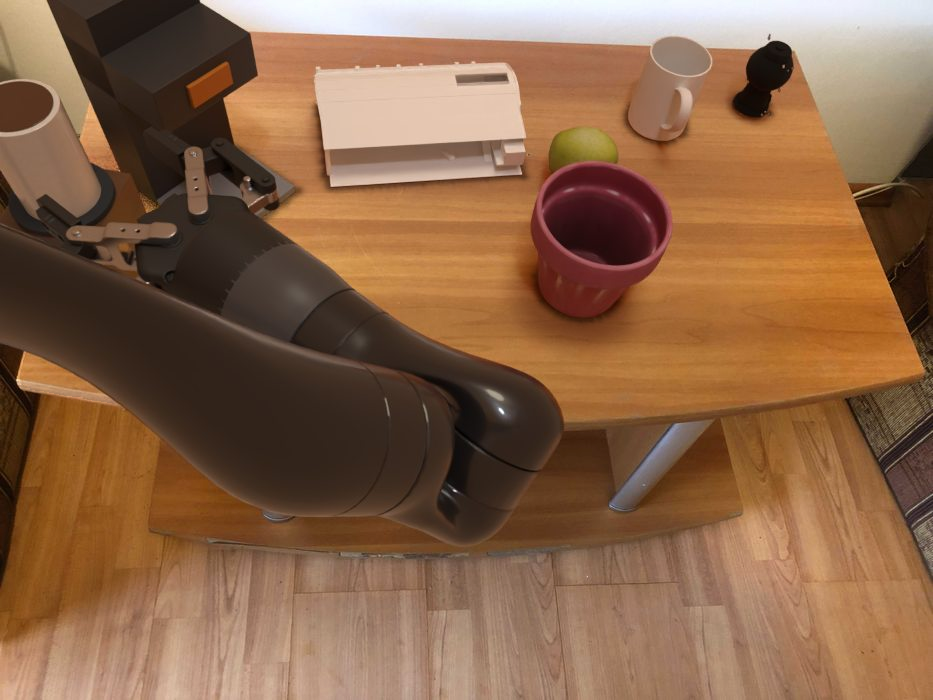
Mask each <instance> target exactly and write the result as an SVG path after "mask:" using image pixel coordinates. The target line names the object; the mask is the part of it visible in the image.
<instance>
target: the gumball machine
mask: <svg viewBox="0 0 933 700" xmlns="http://www.w3.org/2000/svg"><path fill="white" fill-rule="evenodd" d="M771 35H772V34H771V33H768V36H767V41H769V42H768V43H767V44H765V45H764V46H761V47H759V48H758V49H756V50H755V51H754V52H753V53H751V55H750V56H749V58H748V60H747V63H746V65H745V75H746V81H747V83H746V85H745V86H744V88H743V89H742V90H740V91H738V92H737V93H736V94H735V95H734V97H733V98H732V106H733V108H734V109H735V110H736V111H737V112H738V113H739V114H740V115H742V116H744V117H747V118H752V119H759V118H762V117H764V116H765V115H766V116H767V117H769V116H770V115H771V114H772V111H771V110H769V109H770V108H769V107H770V103H771V102H772V97H773V95H772V91H776V90H777V92H778V93H780V92H781V88H782V87H783V86H785V84H786V83H788V81H789V80H790V78H791V77H792V76H793V75H792V74H793V71H794V69H795V67H794V66H795V64H794V59H793V50H792V49H793V48H792V47H791V46H790V45H789V44H788V43H786V42H785V41H781V40H771V37H772V36H771ZM770 40H771V41H770Z"/></svg>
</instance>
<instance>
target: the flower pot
mask: <svg viewBox="0 0 933 700" xmlns="http://www.w3.org/2000/svg"><path fill="white" fill-rule="evenodd" d="M673 227H674V221H673V215H672V210H671V208H670V205H669V203H668V201H667V199H666V197H665V196H664V195H663V193H662V192H661V190H659V188H658V187H657V186H656V185H655V184H654V183H653V182H652V181H650V180H649V179H648V178H647V177H644V175H642V174H640V173H638V172H637V171H635V170H633V169H631V168H629V167H625V166H624V165H621V164H618V163H617V164H614V163H609V162H603V161H583V162H577V163H573V164H570V165H567V166H565V167H562V168H561V169H559V170H557V171H556V172H554V173H553V174H550V176H548V178H547V179H546V180H545V181H544V182H543V184H542V186H541V187H540V189H539V191H538V193H537V196H536V200H535V202H534V206H533V209H532V213H531V218H530V236H531V239H532V243H533V246H534V248H535V250H536V252H537V275H538V276H537V279H538V287H539V291H540V293H541V296H542V298H543V299H544V301H546V303H547V304H549V306H550V307H551V308H553V309H554V310H556V311H558V312H559V313H561V314H563V315H566V316H568V317H572V318H579V319H582V318H583V319H586V318H592V317H596V316H599V315H601V314H603V313H605V312H606V311H607V310H609V309H610V308H611V307H612V306H613V304H615V303H616V301H617V300H618V299H619V298H621V297H622V296H623V294H625V292H626V291H627V290H628V289H629V288H630V287H633V286H634V285H636V284H639V283H640V282H643V281H644V280H645V279H646V278H648V277H649V276H650V275H651V274H652V273H653V272H654V271H655V270H656V268H657V267H658V265H659V264H660V263H661V260H662V258H663V256H664V255H665V252H666V251H667V248H668V246H669V244H670V241H671V238H672V234H673Z"/></svg>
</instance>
